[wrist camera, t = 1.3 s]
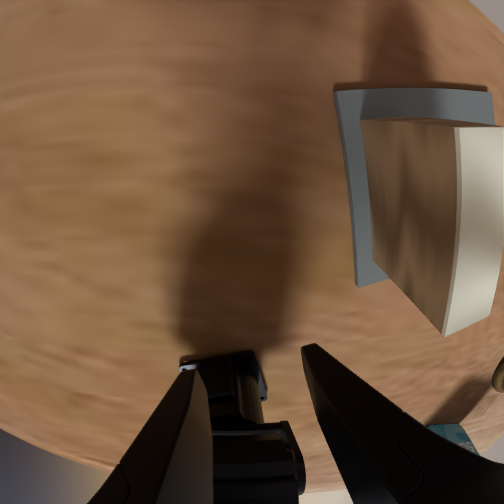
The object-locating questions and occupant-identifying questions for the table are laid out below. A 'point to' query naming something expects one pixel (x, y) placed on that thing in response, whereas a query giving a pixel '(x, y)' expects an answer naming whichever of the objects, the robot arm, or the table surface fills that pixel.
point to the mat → (349, 115)
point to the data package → (454, 435)
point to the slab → (437, 212)
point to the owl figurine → (499, 377)
